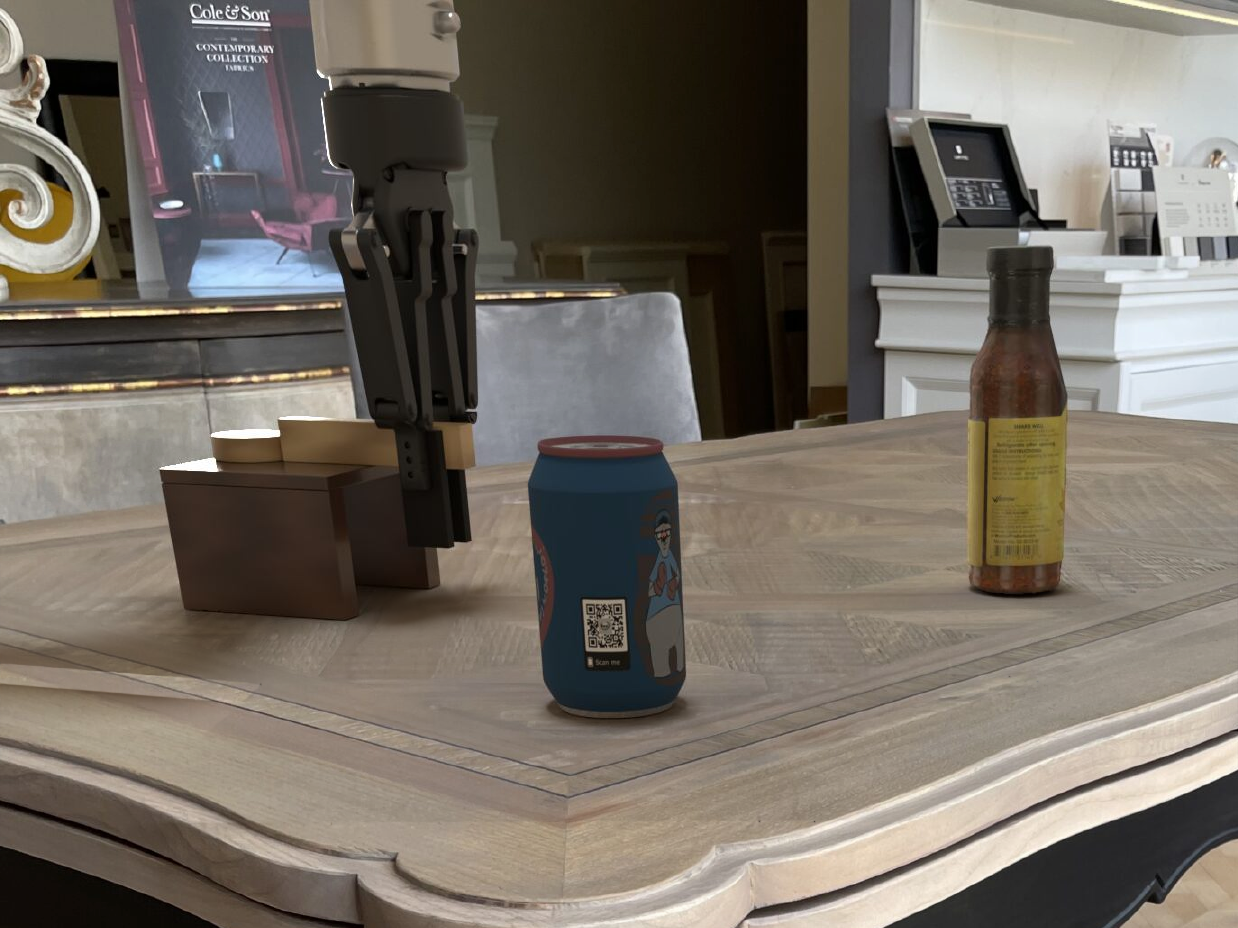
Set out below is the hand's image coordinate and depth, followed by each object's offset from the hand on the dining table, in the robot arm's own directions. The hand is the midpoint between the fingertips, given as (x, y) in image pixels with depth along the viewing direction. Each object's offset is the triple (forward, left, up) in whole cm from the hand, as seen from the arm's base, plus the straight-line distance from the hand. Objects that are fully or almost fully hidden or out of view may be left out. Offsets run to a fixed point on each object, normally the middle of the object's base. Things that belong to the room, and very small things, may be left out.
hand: (440, 542), depth 103 cm
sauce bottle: (+32, +16, -4) cm, 36 cm away
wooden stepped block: (-7, 0, +4) cm, 8 cm away
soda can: (+19, -20, -4) cm, 28 cm away
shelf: (-9, 0, -4) cm, 10 cm away
